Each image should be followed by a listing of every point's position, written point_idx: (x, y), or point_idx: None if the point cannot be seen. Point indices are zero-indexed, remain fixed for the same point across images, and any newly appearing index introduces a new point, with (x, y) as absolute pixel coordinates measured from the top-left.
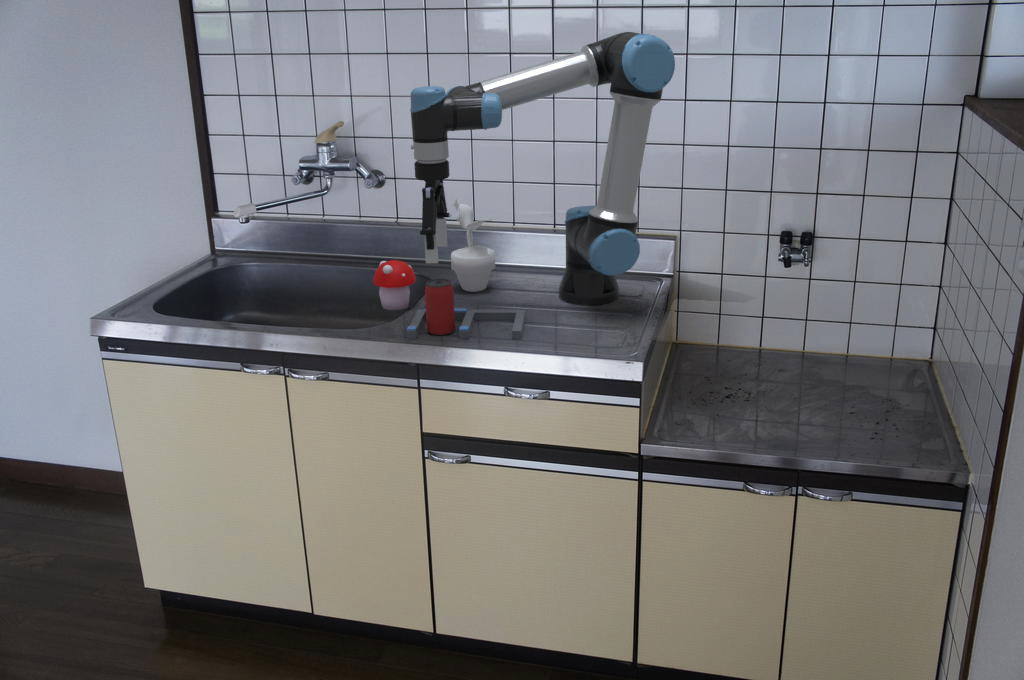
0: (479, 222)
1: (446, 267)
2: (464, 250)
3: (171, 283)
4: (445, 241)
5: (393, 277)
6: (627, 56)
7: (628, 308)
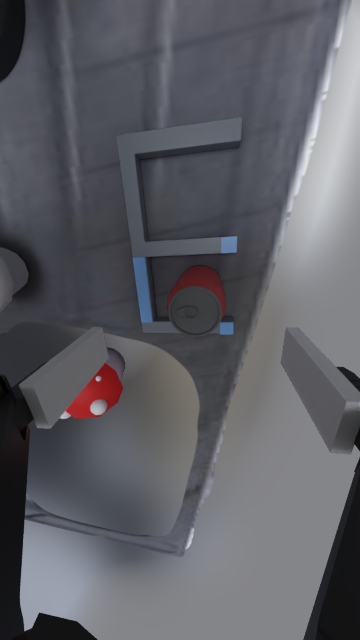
0: None
1: None
2: None
3: (93, 532)
4: (94, 338)
5: (110, 390)
6: None
7: None
